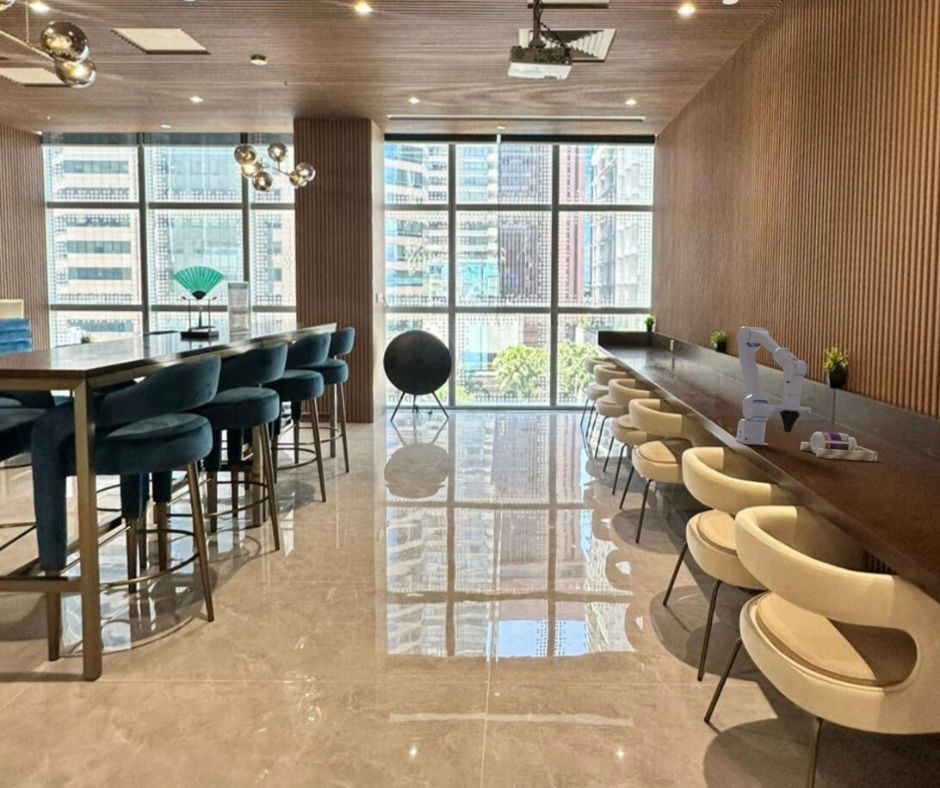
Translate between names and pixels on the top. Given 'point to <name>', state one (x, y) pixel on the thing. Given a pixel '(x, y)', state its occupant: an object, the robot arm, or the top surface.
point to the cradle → (843, 453)
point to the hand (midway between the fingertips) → (787, 431)
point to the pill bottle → (832, 441)
